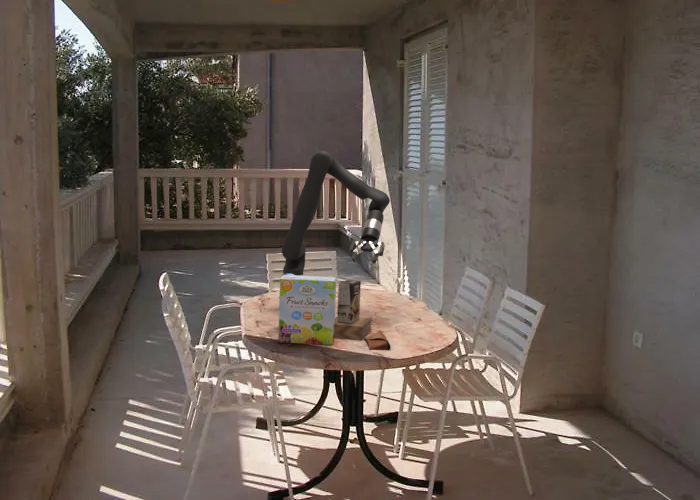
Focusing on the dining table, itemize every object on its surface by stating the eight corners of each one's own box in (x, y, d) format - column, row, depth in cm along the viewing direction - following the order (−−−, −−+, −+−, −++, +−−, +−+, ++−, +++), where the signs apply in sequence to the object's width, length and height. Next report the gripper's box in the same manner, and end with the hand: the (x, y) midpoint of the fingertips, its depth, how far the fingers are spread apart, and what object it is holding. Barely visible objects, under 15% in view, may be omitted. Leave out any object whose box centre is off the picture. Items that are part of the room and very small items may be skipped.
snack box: (277, 343, 307) (278, 278, 304) (280, 337, 316) (281, 274, 312) (333, 345, 306) (335, 280, 303) (334, 340, 315) (336, 276, 311)
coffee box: (351, 323, 319) (352, 284, 317) (336, 321, 322) (337, 282, 320) (360, 319, 328) (361, 280, 325) (345, 317, 330) (347, 279, 328)
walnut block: (328, 338, 319) (328, 323, 318) (338, 329, 335) (338, 315, 334) (362, 341, 316) (362, 326, 315) (370, 332, 331) (371, 318, 330)
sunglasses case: (361, 338, 319) (370, 324, 318) (376, 346, 320) (385, 332, 320) (368, 350, 301) (378, 335, 301) (384, 359, 302) (393, 344, 302)
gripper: (354, 225, 342) (345, 255, 333) (386, 227, 338) (378, 257, 329) (357, 236, 348) (349, 265, 339) (389, 238, 344) (381, 268, 335)
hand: (363, 261), depth 334 cm, fingers open, 8 cm apart
